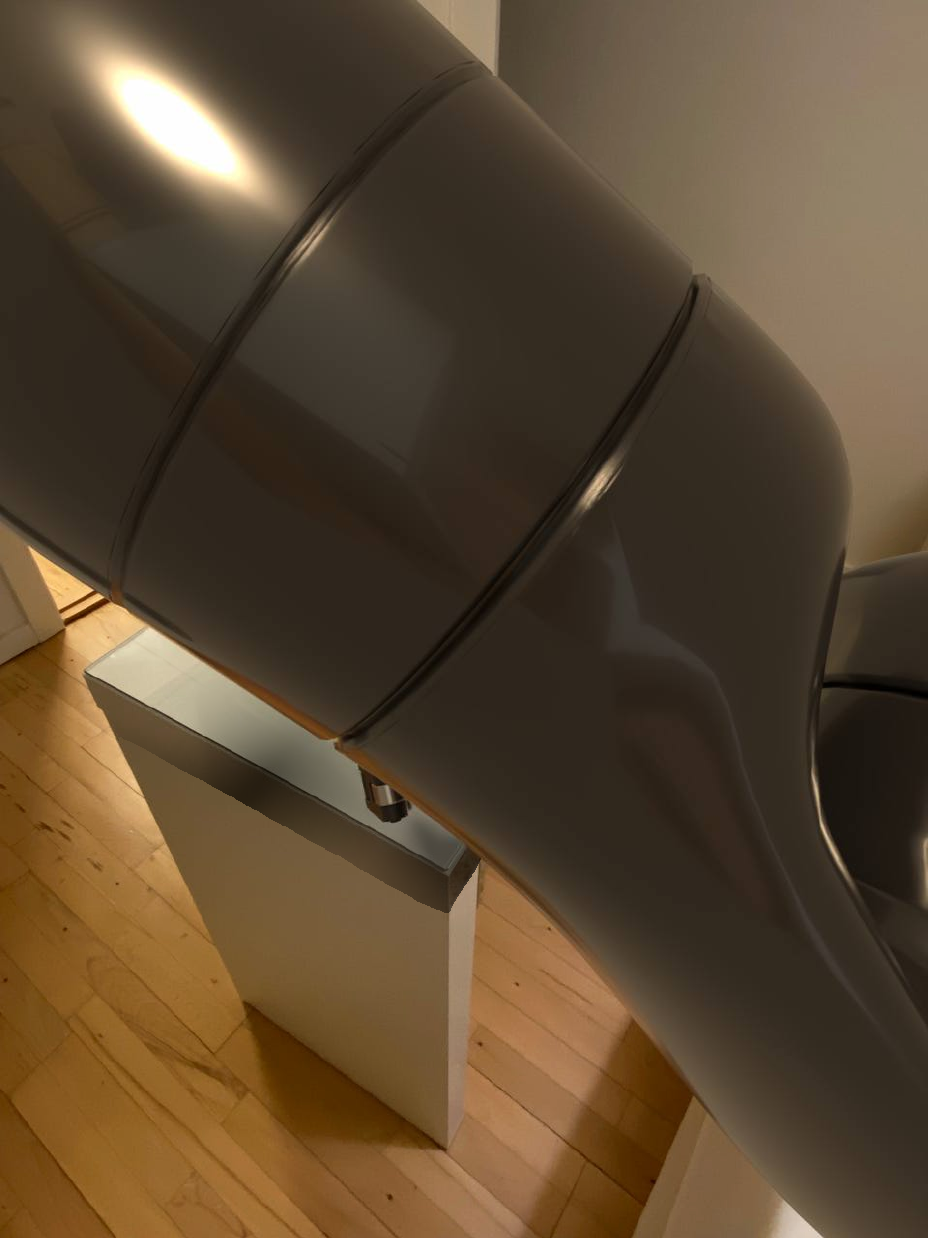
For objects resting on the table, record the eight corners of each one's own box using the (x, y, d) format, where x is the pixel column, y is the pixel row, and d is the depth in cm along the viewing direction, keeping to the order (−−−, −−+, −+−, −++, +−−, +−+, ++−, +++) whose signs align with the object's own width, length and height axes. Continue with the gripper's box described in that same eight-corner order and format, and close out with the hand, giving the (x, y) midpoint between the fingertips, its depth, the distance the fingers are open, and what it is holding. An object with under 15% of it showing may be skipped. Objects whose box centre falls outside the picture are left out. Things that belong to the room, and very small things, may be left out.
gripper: (700, 638, 28) (559, 660, 44) (364, 720, 25) (341, 712, 41) (745, 816, 28) (586, 774, 44) (409, 925, 24) (368, 837, 40)
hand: (468, 744), depth 42 cm, fingers open, 8 cm apart
